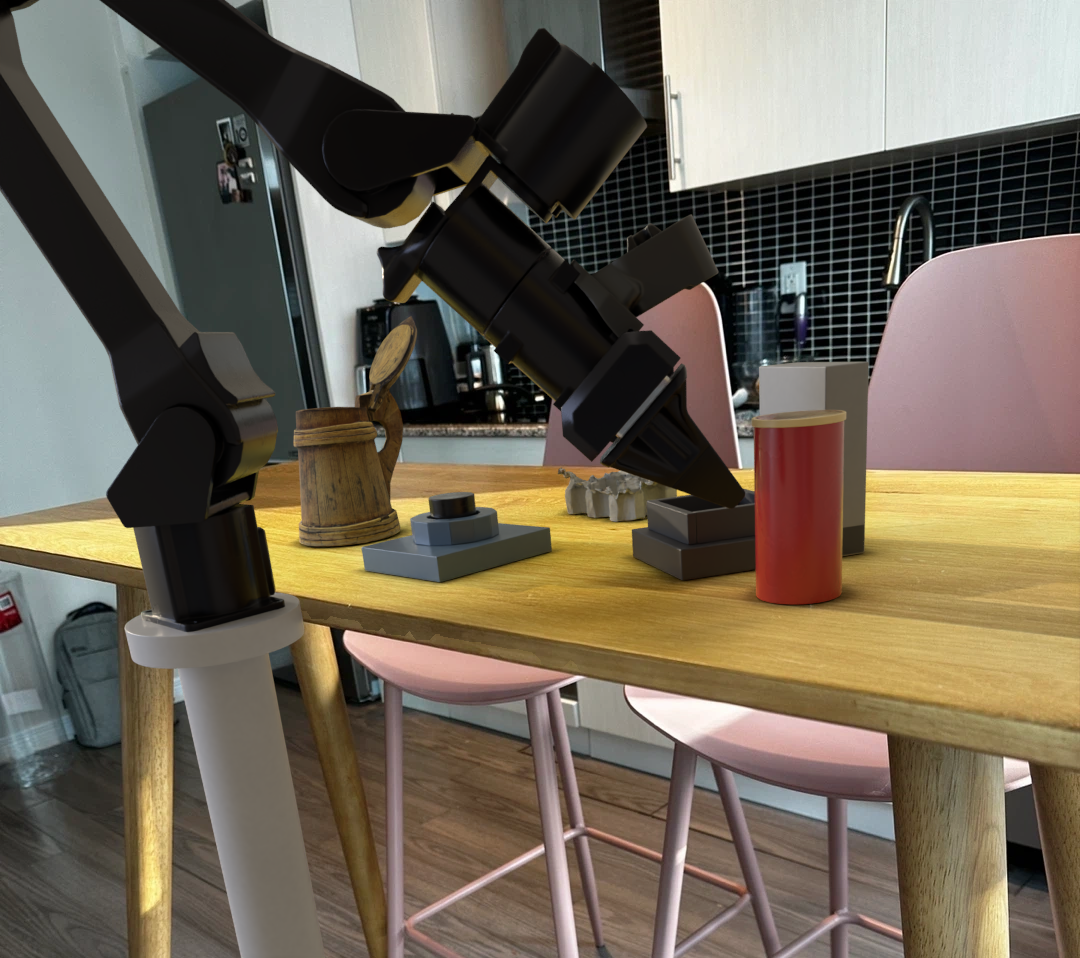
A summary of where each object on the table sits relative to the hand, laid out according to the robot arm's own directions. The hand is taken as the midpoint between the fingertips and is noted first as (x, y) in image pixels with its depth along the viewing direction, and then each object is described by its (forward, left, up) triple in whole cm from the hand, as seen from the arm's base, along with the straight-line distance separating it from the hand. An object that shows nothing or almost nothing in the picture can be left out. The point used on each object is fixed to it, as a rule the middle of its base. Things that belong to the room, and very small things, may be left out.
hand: (730, 488), depth 57 cm
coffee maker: (+10, +6, -6) cm, 14 cm away
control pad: (0, +25, -6) cm, 26 cm away
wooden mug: (+5, +43, -6) cm, 44 cm away
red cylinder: (+2, -3, -6) cm, 7 cm away
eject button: (0, +25, -3) cm, 25 cm away
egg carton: (+21, +27, -6) cm, 35 cm away
